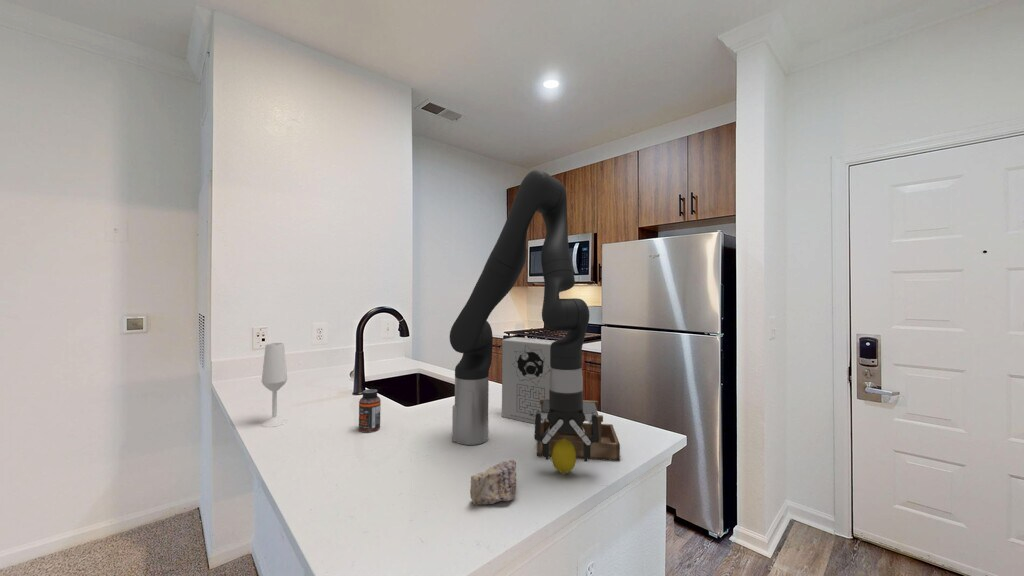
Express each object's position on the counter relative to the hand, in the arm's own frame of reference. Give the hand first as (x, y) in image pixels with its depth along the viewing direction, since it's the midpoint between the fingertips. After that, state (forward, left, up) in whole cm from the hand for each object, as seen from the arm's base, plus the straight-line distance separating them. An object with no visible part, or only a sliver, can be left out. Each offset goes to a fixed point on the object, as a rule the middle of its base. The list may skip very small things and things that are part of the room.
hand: (566, 459), depth 89 cm
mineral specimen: (-14, -11, -4) cm, 18 cm away
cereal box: (-9, +35, -3) cm, 36 cm away
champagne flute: (-88, +21, -3) cm, 90 cm away
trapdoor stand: (+3, +15, -3) cm, 16 cm away
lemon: (-1, 0, -3) cm, 3 cm away
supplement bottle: (-57, +20, -3) cm, 60 cm away
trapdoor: (+1, +15, +5) cm, 16 cm away
